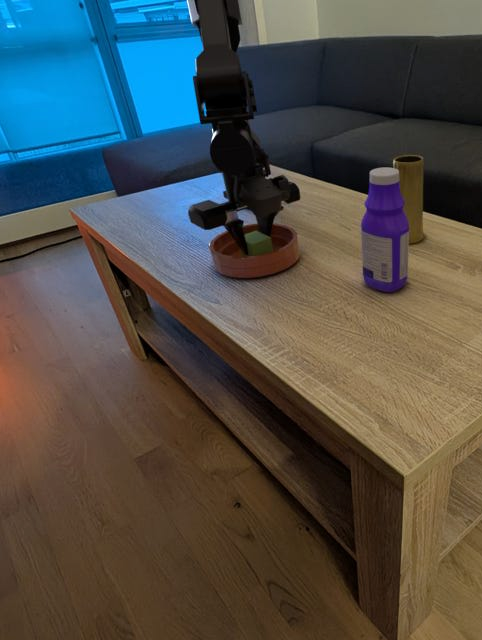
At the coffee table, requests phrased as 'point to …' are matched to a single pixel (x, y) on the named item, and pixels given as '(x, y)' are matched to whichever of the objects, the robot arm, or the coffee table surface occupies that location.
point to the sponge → (257, 244)
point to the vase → (412, 192)
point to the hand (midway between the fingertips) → (256, 250)
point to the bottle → (385, 233)
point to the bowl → (236, 265)
